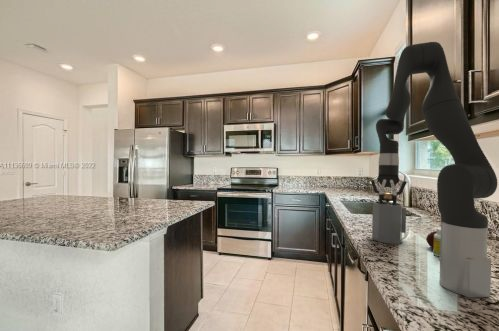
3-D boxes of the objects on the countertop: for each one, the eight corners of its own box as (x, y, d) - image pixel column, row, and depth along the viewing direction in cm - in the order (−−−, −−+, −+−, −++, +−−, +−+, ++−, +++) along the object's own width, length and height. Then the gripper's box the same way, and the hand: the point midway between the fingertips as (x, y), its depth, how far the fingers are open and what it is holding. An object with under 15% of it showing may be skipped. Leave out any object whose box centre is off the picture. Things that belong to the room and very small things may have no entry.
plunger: (402, 238, 100) (403, 194, 100) (383, 238, 99) (385, 194, 99) (389, 232, 108) (390, 192, 108) (371, 232, 108) (372, 192, 108)
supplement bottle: (432, 255, 87) (433, 228, 87) (434, 251, 91) (434, 226, 91) (451, 259, 83) (452, 232, 83) (452, 255, 87) (453, 229, 87)
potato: (455, 250, 93) (455, 232, 93) (443, 253, 89) (444, 235, 89) (433, 244, 99) (433, 227, 99) (422, 247, 96) (422, 229, 96)
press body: (414, 244, 99) (415, 205, 99) (382, 244, 98) (383, 205, 98) (395, 235, 110) (396, 201, 110) (366, 236, 109) (367, 201, 109)
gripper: (407, 164, 103) (406, 203, 104) (370, 163, 110) (369, 200, 111) (408, 164, 97) (407, 206, 97) (369, 163, 104) (368, 202, 104)
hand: (387, 203), depth 104 cm, fingers closed on plunger, 4 cm apart
